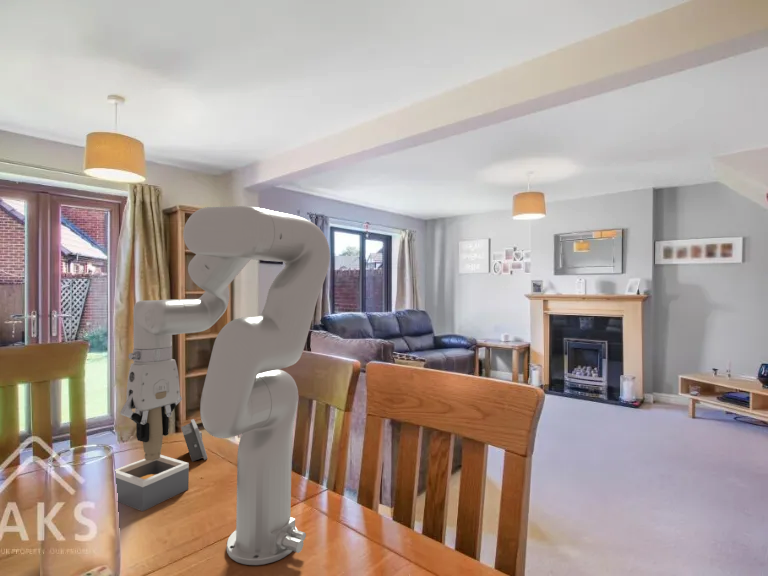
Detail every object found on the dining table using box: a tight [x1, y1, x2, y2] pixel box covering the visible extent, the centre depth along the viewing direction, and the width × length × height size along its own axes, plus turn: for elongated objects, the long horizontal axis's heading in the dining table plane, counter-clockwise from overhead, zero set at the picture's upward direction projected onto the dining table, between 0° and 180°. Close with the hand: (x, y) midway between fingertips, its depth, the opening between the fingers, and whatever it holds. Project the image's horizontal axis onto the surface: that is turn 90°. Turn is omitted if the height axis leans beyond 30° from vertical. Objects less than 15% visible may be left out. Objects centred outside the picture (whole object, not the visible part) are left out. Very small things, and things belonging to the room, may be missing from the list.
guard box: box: [114, 454, 190, 512], centre depth 95 cm, size 11×11×6 cm
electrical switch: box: [180, 418, 208, 462], centre depth 116 cm, size 9×5×9 cm, turn 30°
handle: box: [142, 391, 166, 460], centre depth 94 cm, size 5×6×15 cm
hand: (153, 436), depth 94 cm, fingers closed on handle, 3 cm apart
